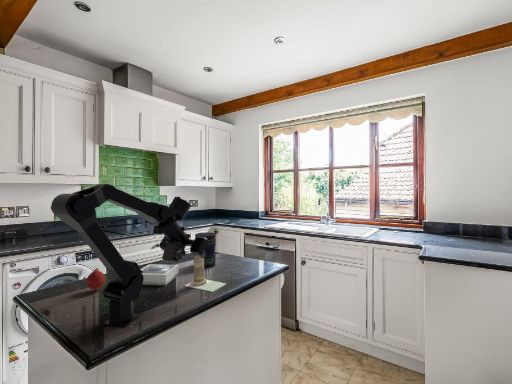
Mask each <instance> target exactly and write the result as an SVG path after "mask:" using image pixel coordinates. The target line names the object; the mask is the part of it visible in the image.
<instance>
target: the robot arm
mask: <svg viewBox="0 0 512 384" xmlns="http://www.w3.org/2000/svg"><path fill="white" fill-rule="evenodd" d="M105 202H107V203H111V204H113V205H114V206H115V205H116V206H118V207H121V208H124V209H126V210H129V211H132V212H134V213H135V214H137V215H138V216H139V217H140V218H142V219H143V220H144V221H146V222H149V223H157V224H156V225H153V229H152V234H153V235H163V238H162V239H161V241H160V243H159V248H160V249H161V251H163V253H162V256H161V258H162V261H165V262H169V263H175V264H176V263H179V261H181V260H182V259H183V256H184V257H185V256H187V255H186V254H187V252H186V250H185V249H186V247H190V248H189V252H190V253H191V254H192V255H193V256H194V255H198V256H200V257H201V258H203V259H204V258H205V248H206V247H207V245H208V243H209V241H208V239H207V238H206V237H199V236H198V237H196V238H195V237H194V239H191V234H190V233H186V232H185V230H186V228H185V226H180V225H179V224H178V221H183V220H184V218H185V217H186V215H187V213H188V212H189V211H190V209H191V203H190V202H189V201H187V200H185V199H184V198H181V197H180V196H174V197H173V199H172V201H171V203H170V204H169V205H167V204H165V203H164V204H163V203H159V202H154V201H153V202H152V201H148V200H145V199H142V198H140V197H138V196H135V195H133V194H131V193H129V192H127V191H125V190H122V189H120V188H118V187H116V186H114V185H113V184H110V183H97V184H95V185H93V186H91V187H87V188H84V189H81V190H77V191H75V192H72V193H61V194H58V195H57V196H55V197H54V198H53V199H52V201H51V205H50V211H51V212H52V213H53V215H54V216H56V217H57V218H58V219H59V220H60V221H61V222H63V223H65V224H66V225H68V226H69V227H70V228H72V229H74V230H75V231H77V233H78V234H79V235H80V237H81V238H82V239H83V241H84V242H85V244H86V245H88V247H89V248H90V249H91V250H92V252H93V254H95V256H96V257H97V259H98V260H99V261H100V262H101V263H102V265H103V266H104V267H105V269H106V270H107V279H108V283H107V285H105V287H104V289H103V290H102V291H101V294H102V296H103V299H105V300H109V302H108V319H107V320H106V321H105V322H104V323H103V326H106V327H107V326H108V327H127V326H129V324H131V323H132V322H133V321H134V320H136V318H137V317H139V314H138V313H134V301H136V300H138V299H139V298H140V293H141V290H142V287H143V285H142V284H143V280H144V277H143V274H142V273H143V271H141V270H140V269H141V268H140V266H139V264H138V263H137V262H136V261H130V260H128V259H127V260H126V259H124V257H123V256H122V254H121V253H120V252H119V251H118V248H117V247H116V246H115V245H114V243H113V242H112V241H111V239H110V238H109V237H108V235H107V234H106V232H105V231H104V230H103V228H102V227H101V226H100V224H99V222H98V221H97V211H96V209H97V208H99V207H100V206H102V205H103V204H104V203H105Z"/></svg>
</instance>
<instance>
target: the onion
mask: <svg viewBox="0 0 512 384" xmlns="http://www.w3.org/2000/svg"><path fill="white" fill-rule="evenodd" d="M105 283H106V276H105V274H104V273H103V272H102V271H100V270H99V268H98V267H96V268H94V269H93V271H92V272H91V273H90V274H89V275H88V276H87V278H86V286H87V287H88V288H89V289H90V290H92V291H95V292H96V291H98V290H99V289H101V288H102V287H103V286H104V285H105Z"/></svg>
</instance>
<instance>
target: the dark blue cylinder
mask: <svg viewBox="0 0 512 384" xmlns="http://www.w3.org/2000/svg"><path fill="white" fill-rule="evenodd" d="M198 236H199V237H206V238H207V239H208V241H209V243H208V245H207V247H206V248H205V258H204V269H212V268H214V267H215V266H216V265H217V264H216V260H217V255H216V245H217V244H216V241H217V240H216V233H214V232H198V233H197V232H196V233H195V234H194V239H195V238H196V237H198Z"/></svg>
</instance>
